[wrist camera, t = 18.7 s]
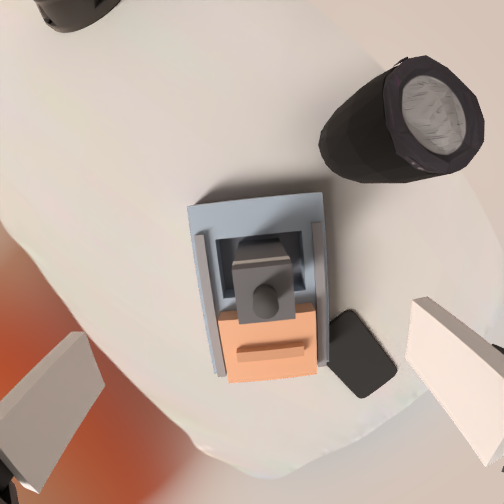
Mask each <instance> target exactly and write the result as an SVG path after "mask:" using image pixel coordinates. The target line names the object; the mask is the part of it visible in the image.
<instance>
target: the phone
mask: <svg viewBox="0 0 504 504" xmlns="http://www.w3.org/2000/svg"><path fill="white" fill-rule="evenodd" d="M326 365H327V366H328V367H329V368H330V369H331V370H332V371H333V372H334V373H335V374H336V375H337V376H338V377H339V378H340V379H341V380H342V381H343V382H344V383H345V385H346V386H347V387H348V388H349V389H350V390H351V391H352V392H353V393H354V394H355V395H356V396H357V397H358V398H365V397H367V396H369V395H370V394H371V393H373V392H374V391H376V390H377V389H378V388H380V387H381V386H382V385H384V384H385V383H386V382H388V381H389V380H390V379H391V378H393V377H394V376H395V374H396V373H397V369H396V367H395V366H394V364H393V363H392V362H391V360H390V359H389V358H388V356H387V355H386V354H385V352H384V351H383V350H382V348H381V347H380V345H379V344H378V343H377V342H376V340H375V339H374V338H373V336H372V335H371V333H370V332H369V330H368V329H367V328H366V326H364V324H363V323H362V322H361V321H360V319H359V318H358V317H357V315H356V314H355V313H354V312H353V311H351V310H347V311H344V312H343V313H341V314H340V315H339V316H338V317H336V318H335V319H334V320H332V321H331V322H330V323H329V362H326Z"/></svg>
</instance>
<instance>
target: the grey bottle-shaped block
mask: <svg viewBox="0 0 504 504" xmlns="http://www.w3.org/2000/svg"><path fill="white" fill-rule="evenodd" d="M232 266H233V267H232V276H233V284H234V291H235V299H236V306H237V314H238V321H239V324H250V323H261V322H271V321H280V320H289V319H296V314H295V298H294V284H293V270H292V263H291V261H290V257H289V256H288V255H287V253H286V251H285V249H284V247H283V245H282V243H281V241H280V239H279V238H273V239H263V240H254V241H244V242H239V244H238V248H237V252H236V256H235V259H234V261H233V264H232Z"/></svg>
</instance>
